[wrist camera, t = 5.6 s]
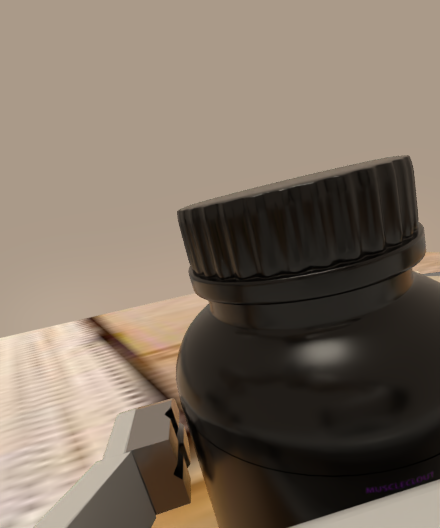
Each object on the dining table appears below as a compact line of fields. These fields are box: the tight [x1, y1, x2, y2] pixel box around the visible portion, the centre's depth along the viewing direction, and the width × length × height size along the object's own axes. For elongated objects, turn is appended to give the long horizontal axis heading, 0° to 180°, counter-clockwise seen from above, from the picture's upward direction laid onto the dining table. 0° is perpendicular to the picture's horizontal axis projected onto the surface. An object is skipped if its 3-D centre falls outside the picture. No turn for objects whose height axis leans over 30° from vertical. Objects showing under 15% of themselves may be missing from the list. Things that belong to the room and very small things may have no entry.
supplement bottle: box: [176, 155, 440, 528], centre depth 8 cm, size 7×7×12 cm
